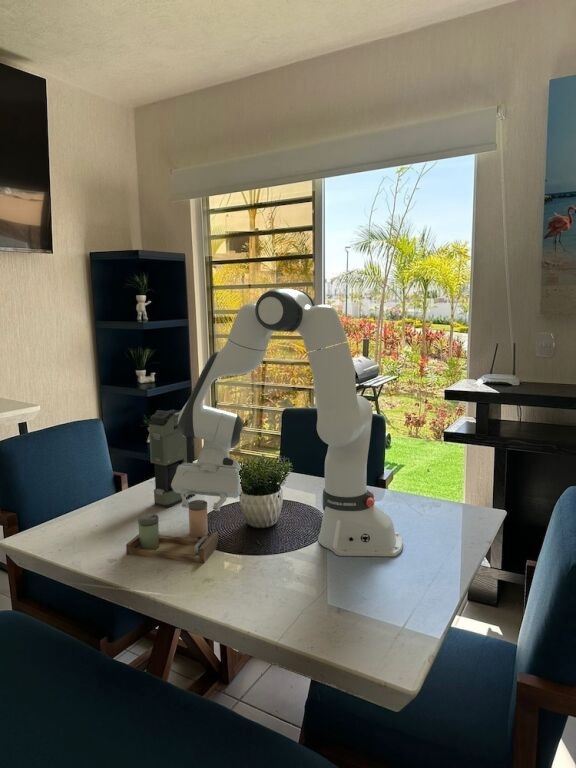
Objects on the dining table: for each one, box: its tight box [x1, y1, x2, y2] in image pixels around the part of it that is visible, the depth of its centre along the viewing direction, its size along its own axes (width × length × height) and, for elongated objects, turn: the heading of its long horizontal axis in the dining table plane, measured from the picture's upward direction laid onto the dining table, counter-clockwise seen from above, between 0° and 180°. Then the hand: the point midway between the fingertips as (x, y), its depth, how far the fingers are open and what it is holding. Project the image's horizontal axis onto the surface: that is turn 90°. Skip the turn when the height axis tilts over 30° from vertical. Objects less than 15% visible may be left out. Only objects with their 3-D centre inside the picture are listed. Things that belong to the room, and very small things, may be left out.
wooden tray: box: [125, 531, 219, 564], centre depth 141 cm, size 21×10×4 cm, turn 77°
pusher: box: [194, 535, 209, 555], centre depth 139 cm, size 2×6×3 cm, turn 167°
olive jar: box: [137, 514, 160, 550], centre depth 142 cm, size 5×5×8 cm
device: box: [148, 409, 196, 509], centre depth 175 cm, size 14×8×30 cm, turn 150°
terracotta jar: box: [187, 499, 209, 538], centre depth 150 cm, size 5×5×9 cm
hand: (200, 508), depth 152 cm, fingers open, 8 cm apart
